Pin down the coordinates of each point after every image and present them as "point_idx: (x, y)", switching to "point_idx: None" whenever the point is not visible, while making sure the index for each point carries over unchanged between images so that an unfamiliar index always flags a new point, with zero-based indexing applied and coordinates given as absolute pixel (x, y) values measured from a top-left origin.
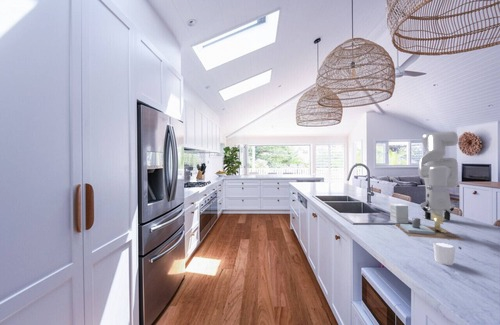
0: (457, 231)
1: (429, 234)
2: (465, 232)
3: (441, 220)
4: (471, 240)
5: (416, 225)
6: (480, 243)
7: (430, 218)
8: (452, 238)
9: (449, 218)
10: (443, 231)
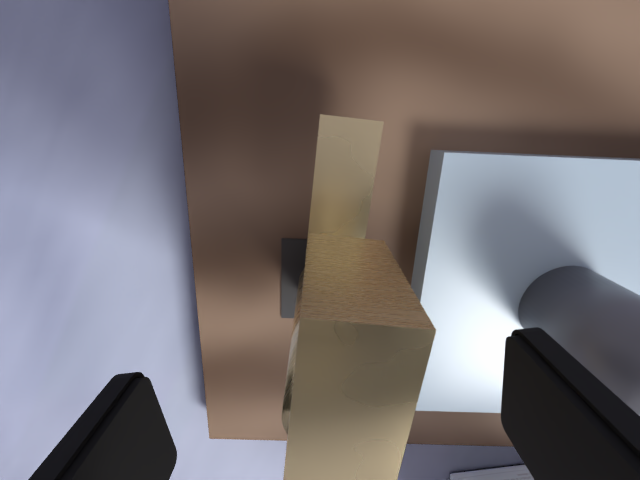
0: (87, 395)
1: (495, 138)
2: (27, 380)
3: (342, 261)
4: (64, 124)
5: (620, 287)
6: (6, 23)
7: (528, 349)
8: (294, 11)
9: (103, 400)
10: (351, 119)
